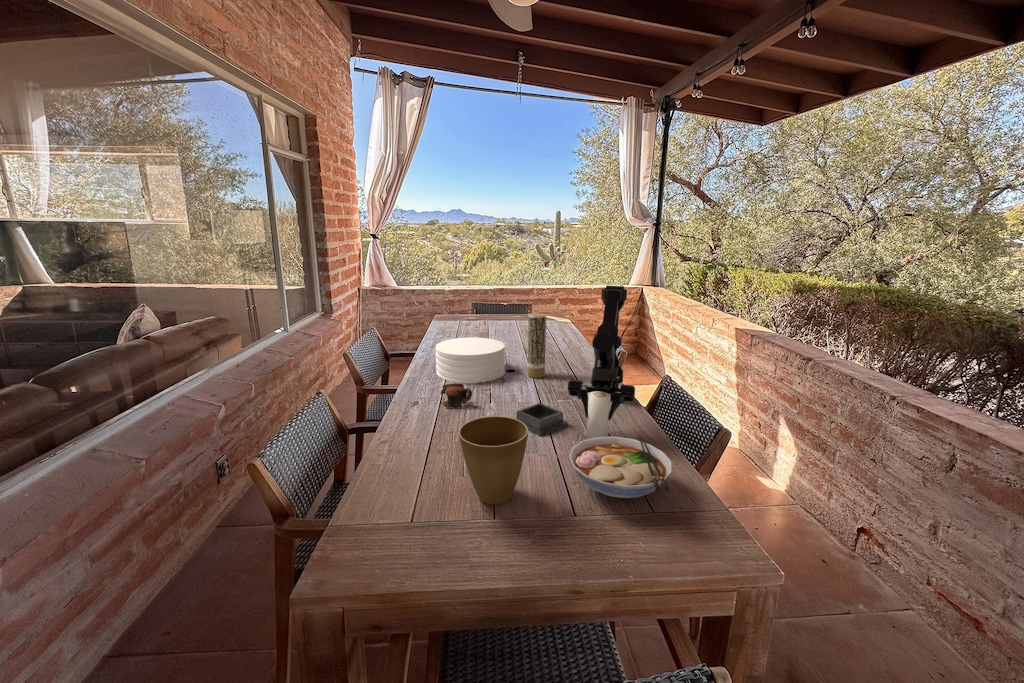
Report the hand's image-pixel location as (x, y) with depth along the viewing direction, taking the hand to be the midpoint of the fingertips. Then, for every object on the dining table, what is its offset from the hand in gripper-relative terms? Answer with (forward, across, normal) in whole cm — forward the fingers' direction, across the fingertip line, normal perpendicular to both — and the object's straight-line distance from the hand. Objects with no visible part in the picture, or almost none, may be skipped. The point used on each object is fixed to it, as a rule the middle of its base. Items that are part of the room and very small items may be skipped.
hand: (597, 418), depth 127 cm
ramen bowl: (+21, +7, -11) cm, 25 cm away
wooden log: (-31, -29, +40) cm, 59 cm away
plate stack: (-29, -56, +39) cm, 74 cm away
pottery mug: (-5, -48, +15) cm, 51 cm away
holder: (0, -18, +9) cm, 20 cm away
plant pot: (+29, -19, -19) cm, 40 cm away
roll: (+4, 0, +6) cm, 7 cm away
